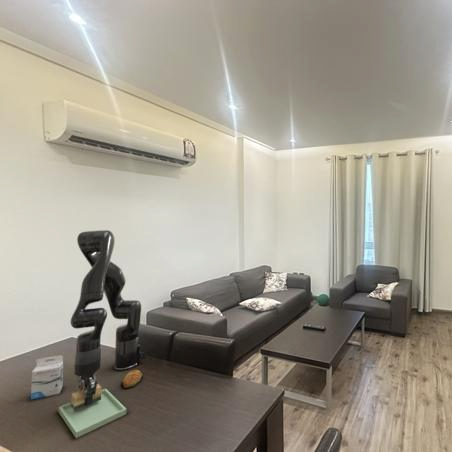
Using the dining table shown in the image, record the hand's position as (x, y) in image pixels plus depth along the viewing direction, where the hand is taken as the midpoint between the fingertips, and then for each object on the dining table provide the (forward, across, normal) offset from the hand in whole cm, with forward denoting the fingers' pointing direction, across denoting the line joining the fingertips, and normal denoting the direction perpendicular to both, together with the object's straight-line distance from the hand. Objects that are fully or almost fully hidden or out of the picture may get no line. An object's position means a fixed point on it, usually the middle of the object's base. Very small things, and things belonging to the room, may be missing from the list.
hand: (86, 402), depth 106 cm
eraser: (0, 0, 0) cm, 0 cm away
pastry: (+2, +5, -17) cm, 18 cm away
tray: (+2, -6, 0) cm, 6 cm away
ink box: (+2, +23, +7) cm, 24 cm away
